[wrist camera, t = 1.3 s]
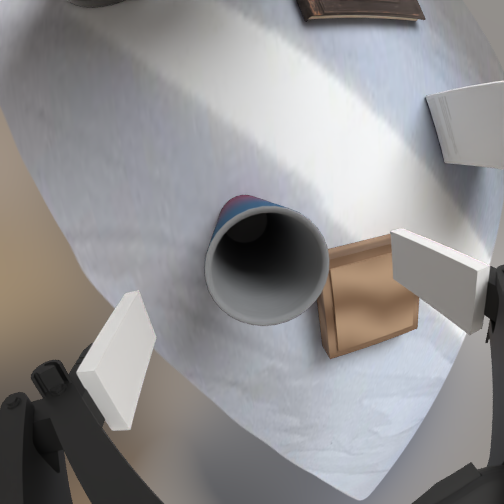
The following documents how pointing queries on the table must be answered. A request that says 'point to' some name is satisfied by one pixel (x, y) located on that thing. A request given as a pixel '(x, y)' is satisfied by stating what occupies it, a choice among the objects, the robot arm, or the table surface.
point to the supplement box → (470, 124)
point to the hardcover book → (361, 9)
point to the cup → (265, 262)
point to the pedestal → (363, 298)
